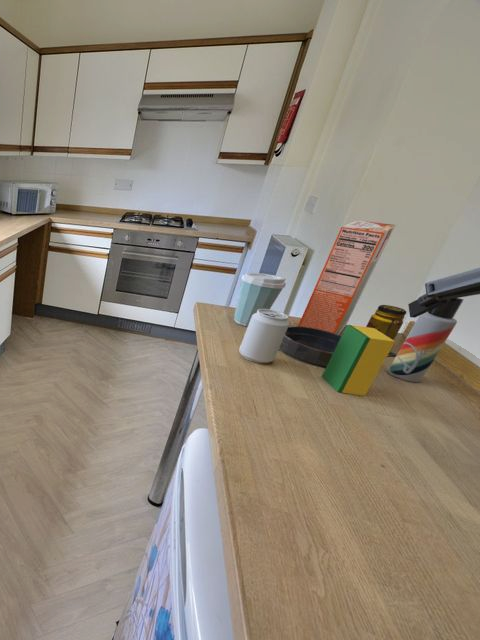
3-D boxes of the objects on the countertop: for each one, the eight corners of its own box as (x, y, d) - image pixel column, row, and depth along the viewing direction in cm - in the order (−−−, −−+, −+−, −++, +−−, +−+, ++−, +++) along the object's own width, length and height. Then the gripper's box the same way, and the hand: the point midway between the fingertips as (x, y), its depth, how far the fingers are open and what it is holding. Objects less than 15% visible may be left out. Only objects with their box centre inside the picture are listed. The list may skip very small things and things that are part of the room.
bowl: (377, 372, 97) (385, 357, 95) (306, 368, 97) (313, 353, 95) (321, 340, 113) (328, 327, 111) (260, 337, 112) (265, 324, 111)
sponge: (346, 380, 93) (374, 328, 87) (364, 396, 87) (395, 341, 81) (321, 376, 94) (347, 324, 88) (337, 392, 88) (366, 337, 82)
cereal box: (313, 317, 129) (357, 220, 116) (345, 326, 124) (395, 225, 111) (293, 335, 115) (341, 226, 102) (329, 345, 110) (384, 232, 97)
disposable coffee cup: (218, 318, 124) (235, 270, 118) (241, 314, 128) (258, 268, 122) (252, 332, 115) (272, 281, 109) (276, 328, 120) (296, 278, 113)
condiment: (347, 344, 111) (368, 303, 106) (372, 343, 113) (394, 302, 107) (375, 357, 105) (398, 313, 99) (401, 356, 106) (426, 313, 101)
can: (230, 353, 103) (247, 308, 97) (250, 349, 106) (267, 305, 100) (259, 367, 97) (279, 320, 91) (280, 362, 99) (299, 316, 94)
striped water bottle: (387, 375, 96) (433, 295, 87) (387, 367, 100) (431, 289, 91) (421, 385, 92) (473, 302, 84) (419, 376, 96) (469, 296, 87)
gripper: (494, 266, 57) (377, 324, 76) (744, 288, 51) (548, 345, 71) (485, 221, 59) (373, 289, 78) (723, 237, 53) (539, 306, 73)
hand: (456, 315), depth 75 cm, fingers open, 13 cm apart
